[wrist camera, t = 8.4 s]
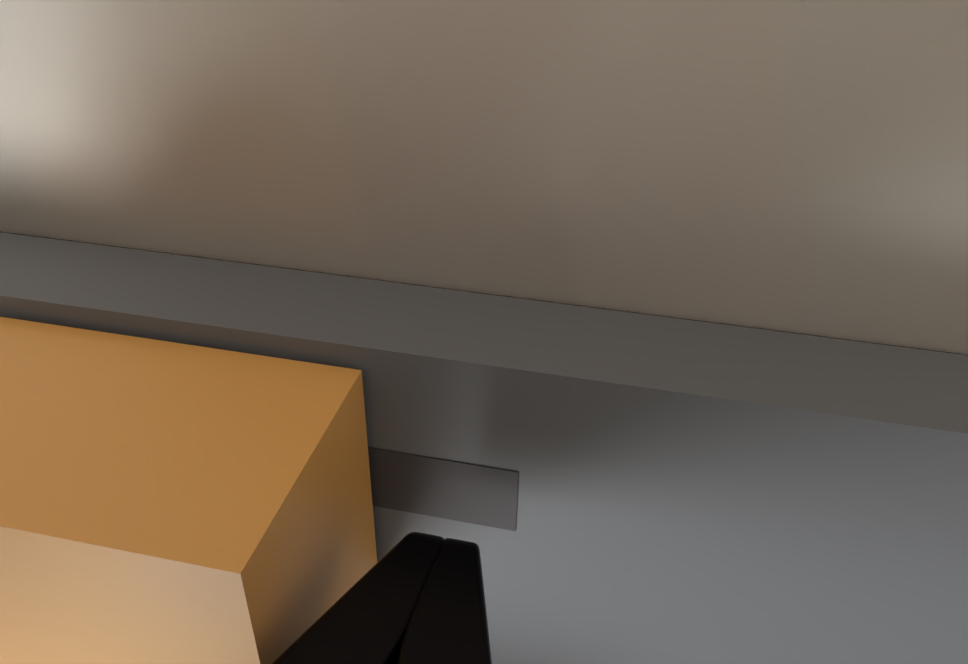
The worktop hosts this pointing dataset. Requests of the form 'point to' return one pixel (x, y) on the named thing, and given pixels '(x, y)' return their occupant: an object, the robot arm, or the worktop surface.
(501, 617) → the panel
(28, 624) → the slider orange
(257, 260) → the worktop surface
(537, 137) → the worktop surface
